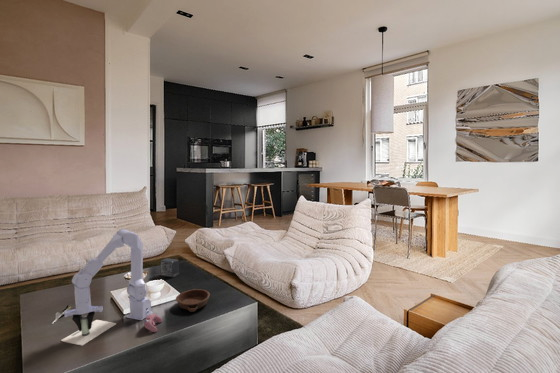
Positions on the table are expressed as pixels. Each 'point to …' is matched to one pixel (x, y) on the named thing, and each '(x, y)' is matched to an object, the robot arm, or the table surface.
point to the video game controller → (152, 322)
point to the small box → (169, 267)
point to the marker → (84, 326)
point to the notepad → (95, 330)
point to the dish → (193, 299)
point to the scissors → (60, 315)
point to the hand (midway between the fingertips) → (85, 329)
